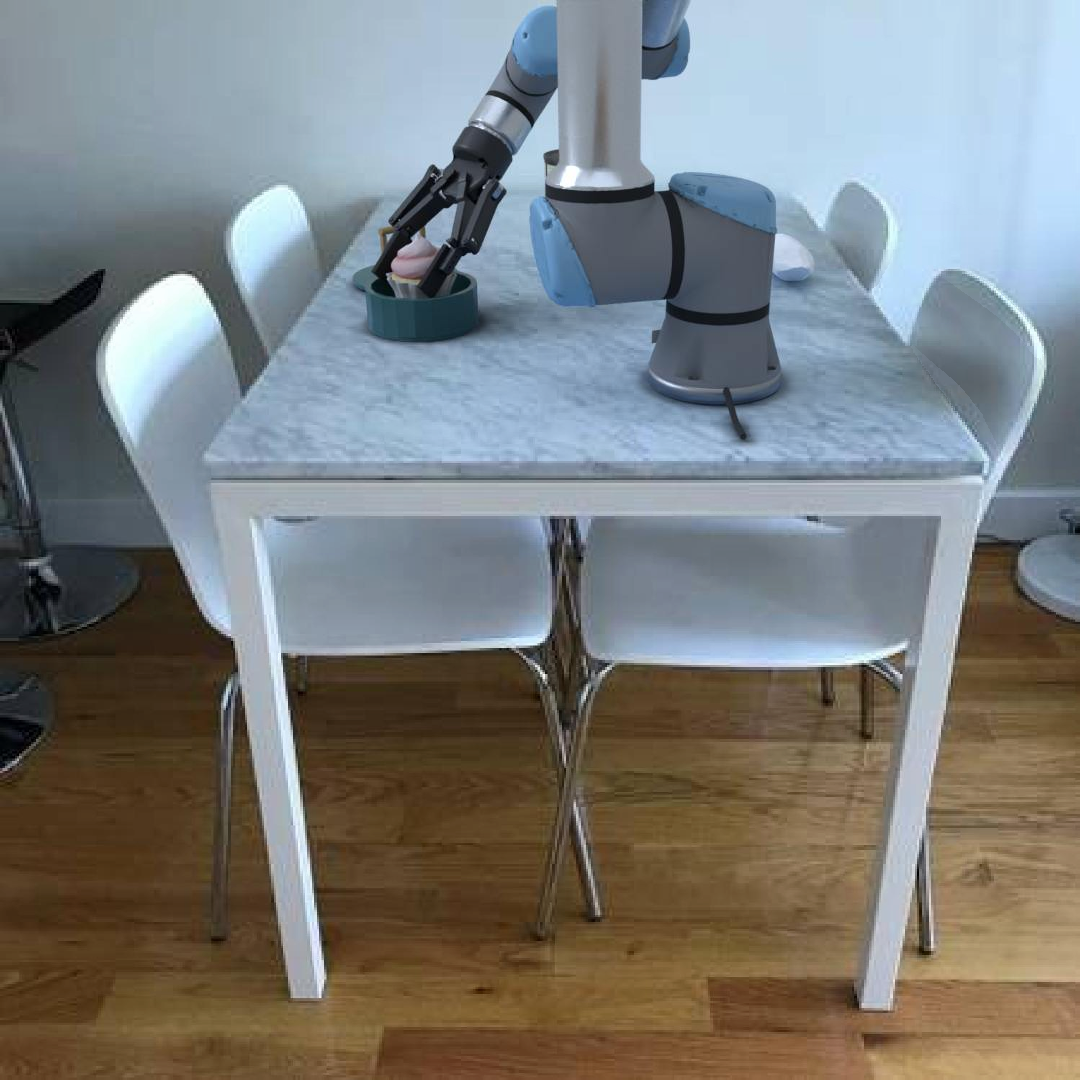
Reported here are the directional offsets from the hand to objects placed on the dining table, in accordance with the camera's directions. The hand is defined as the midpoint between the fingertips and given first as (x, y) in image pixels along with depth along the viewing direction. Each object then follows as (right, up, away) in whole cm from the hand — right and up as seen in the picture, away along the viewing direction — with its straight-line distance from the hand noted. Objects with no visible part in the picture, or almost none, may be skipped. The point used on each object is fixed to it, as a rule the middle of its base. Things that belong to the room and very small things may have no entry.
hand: (401, 285), depth 159 cm
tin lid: (-2, +5, +22) cm, 23 cm away
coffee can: (+24, +15, +41) cm, 50 cm away
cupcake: (+2, -3, +4) cm, 5 cm away
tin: (+2, -4, +5) cm, 7 cm away
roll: (+54, +5, +20) cm, 58 cm away
